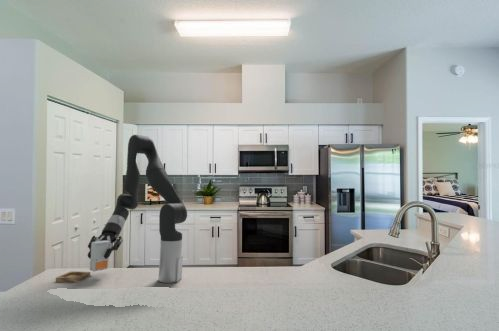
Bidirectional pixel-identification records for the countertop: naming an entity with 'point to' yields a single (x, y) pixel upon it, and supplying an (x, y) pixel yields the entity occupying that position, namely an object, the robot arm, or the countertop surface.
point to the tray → (73, 277)
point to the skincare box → (99, 255)
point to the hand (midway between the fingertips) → (97, 257)
